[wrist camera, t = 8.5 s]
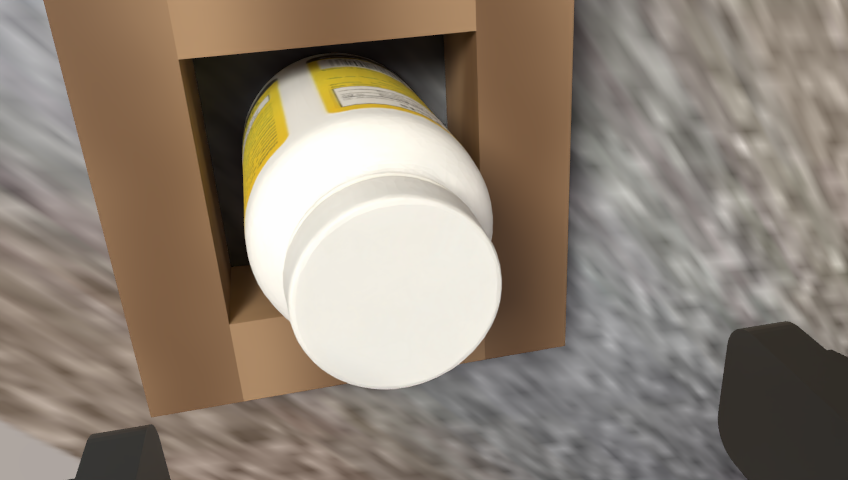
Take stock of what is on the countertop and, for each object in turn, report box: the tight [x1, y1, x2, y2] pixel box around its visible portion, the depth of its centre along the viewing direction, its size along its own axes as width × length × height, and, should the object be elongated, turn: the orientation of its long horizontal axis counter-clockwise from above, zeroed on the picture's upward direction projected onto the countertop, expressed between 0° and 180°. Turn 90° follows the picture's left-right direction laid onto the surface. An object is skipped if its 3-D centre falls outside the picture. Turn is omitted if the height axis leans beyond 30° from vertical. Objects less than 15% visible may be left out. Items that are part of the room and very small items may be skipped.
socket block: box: [43, 0, 574, 417], centre depth 21 cm, size 12×12×4 cm
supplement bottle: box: [242, 53, 502, 389], centre depth 18 cm, size 5×5×10 cm
